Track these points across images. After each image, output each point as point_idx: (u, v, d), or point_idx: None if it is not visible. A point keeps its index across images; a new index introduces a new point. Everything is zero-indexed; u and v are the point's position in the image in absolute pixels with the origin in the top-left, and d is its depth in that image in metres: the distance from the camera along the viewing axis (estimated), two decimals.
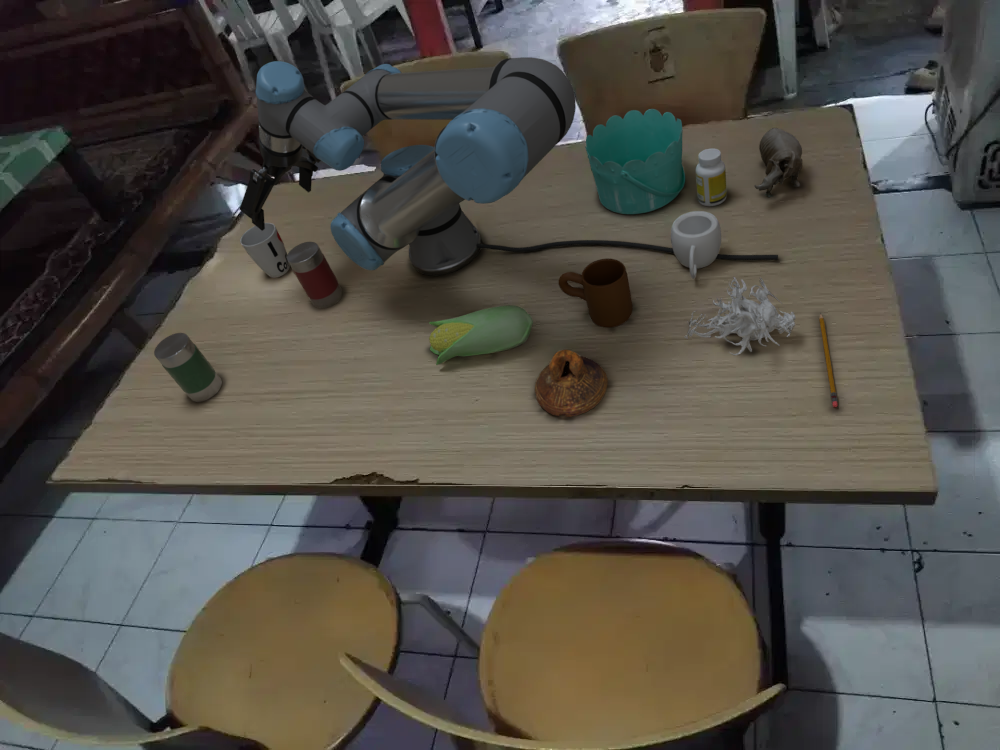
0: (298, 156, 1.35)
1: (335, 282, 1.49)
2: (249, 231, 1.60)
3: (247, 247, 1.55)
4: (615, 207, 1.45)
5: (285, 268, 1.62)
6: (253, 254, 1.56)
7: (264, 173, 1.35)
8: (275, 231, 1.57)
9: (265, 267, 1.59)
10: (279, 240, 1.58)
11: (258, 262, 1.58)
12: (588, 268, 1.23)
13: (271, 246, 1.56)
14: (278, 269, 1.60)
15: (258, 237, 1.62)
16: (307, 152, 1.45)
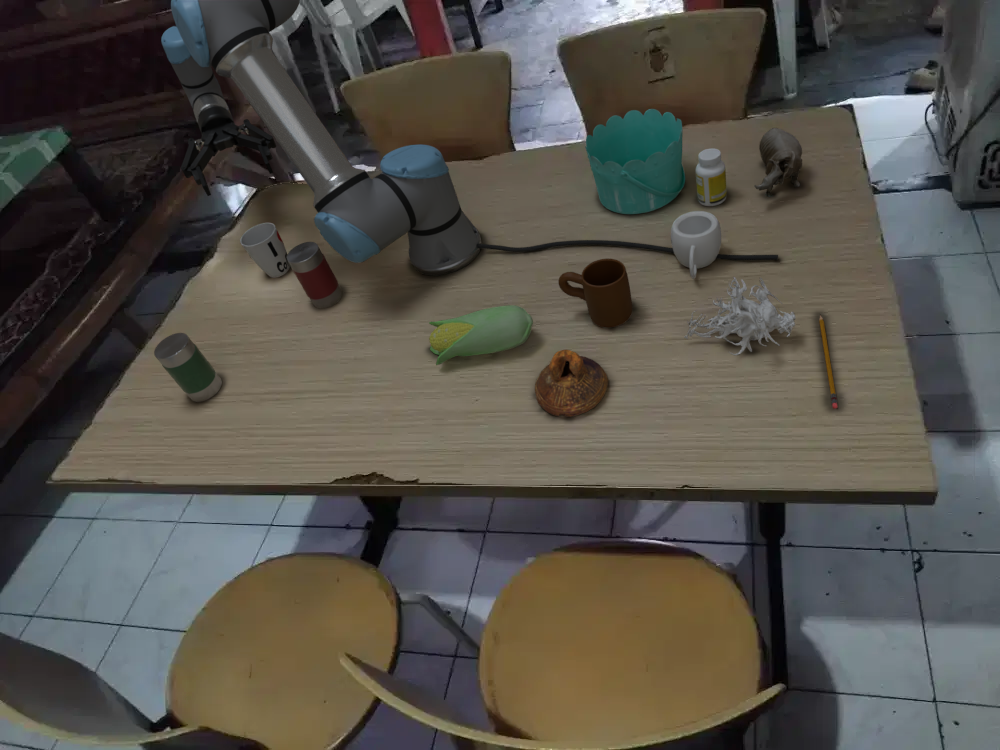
0: (212, 111, 1.60)
1: (335, 282, 1.49)
2: (249, 231, 1.60)
3: (247, 247, 1.55)
4: (615, 207, 1.45)
5: (285, 268, 1.62)
6: (254, 254, 1.56)
7: (198, 140, 1.60)
8: (275, 231, 1.57)
9: (265, 267, 1.59)
10: (279, 240, 1.58)
11: (258, 262, 1.58)
12: (588, 268, 1.23)
13: (271, 246, 1.56)
14: (278, 269, 1.60)
15: (258, 237, 1.62)
16: (257, 136, 1.61)
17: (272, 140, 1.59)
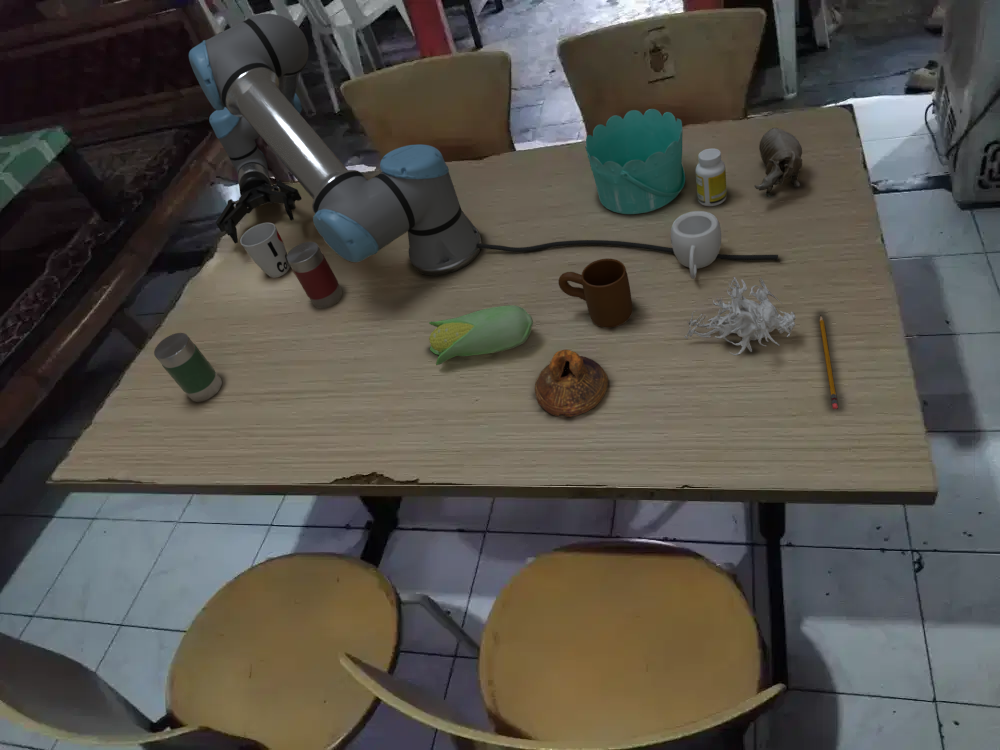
0: (250, 175, 1.76)
1: (335, 282, 1.49)
2: (249, 231, 1.60)
3: (247, 247, 1.55)
4: (615, 207, 1.45)
5: (285, 268, 1.62)
6: (254, 254, 1.56)
7: (236, 201, 1.76)
8: (275, 231, 1.57)
9: (265, 267, 1.59)
10: (279, 240, 1.58)
11: (258, 262, 1.58)
12: (588, 268, 1.23)
13: (271, 246, 1.56)
14: (278, 269, 1.60)
15: (259, 237, 1.62)
16: (286, 192, 1.74)
17: (296, 193, 1.71)
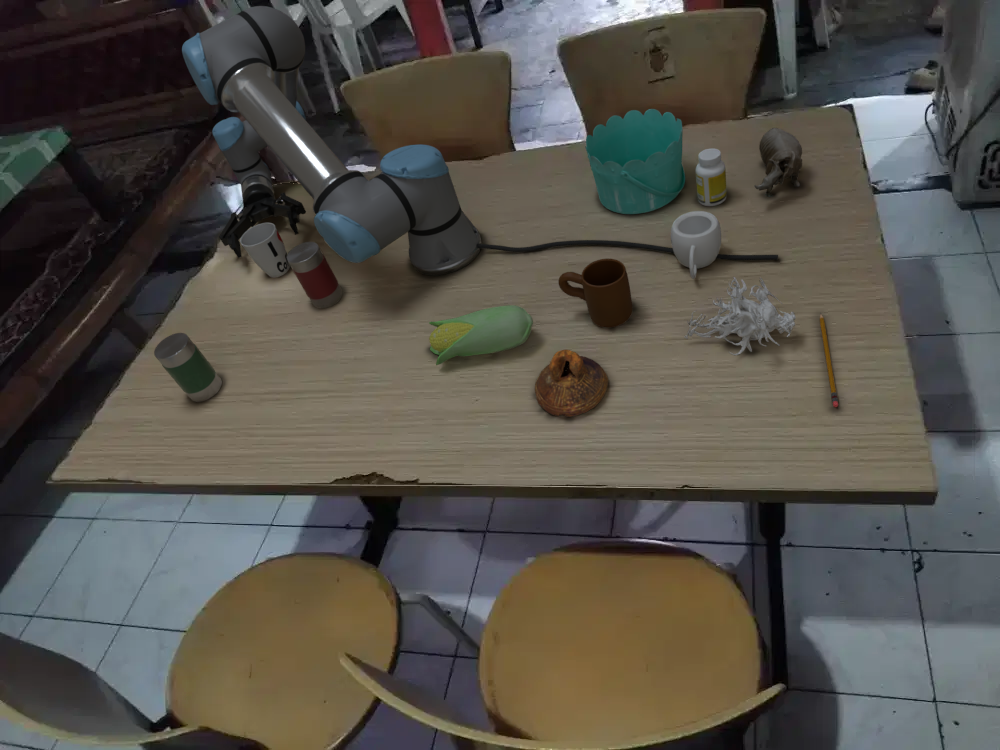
0: (253, 187, 1.74)
1: (335, 282, 1.49)
2: (249, 231, 1.60)
3: (247, 247, 1.55)
4: (615, 207, 1.45)
5: (285, 268, 1.62)
6: (254, 254, 1.56)
7: (240, 214, 1.73)
8: (275, 231, 1.57)
9: (265, 267, 1.59)
10: (279, 240, 1.58)
11: (258, 262, 1.58)
12: (588, 268, 1.23)
13: (271, 246, 1.56)
14: (278, 269, 1.60)
15: (259, 237, 1.62)
16: (290, 205, 1.71)
17: (301, 206, 1.68)
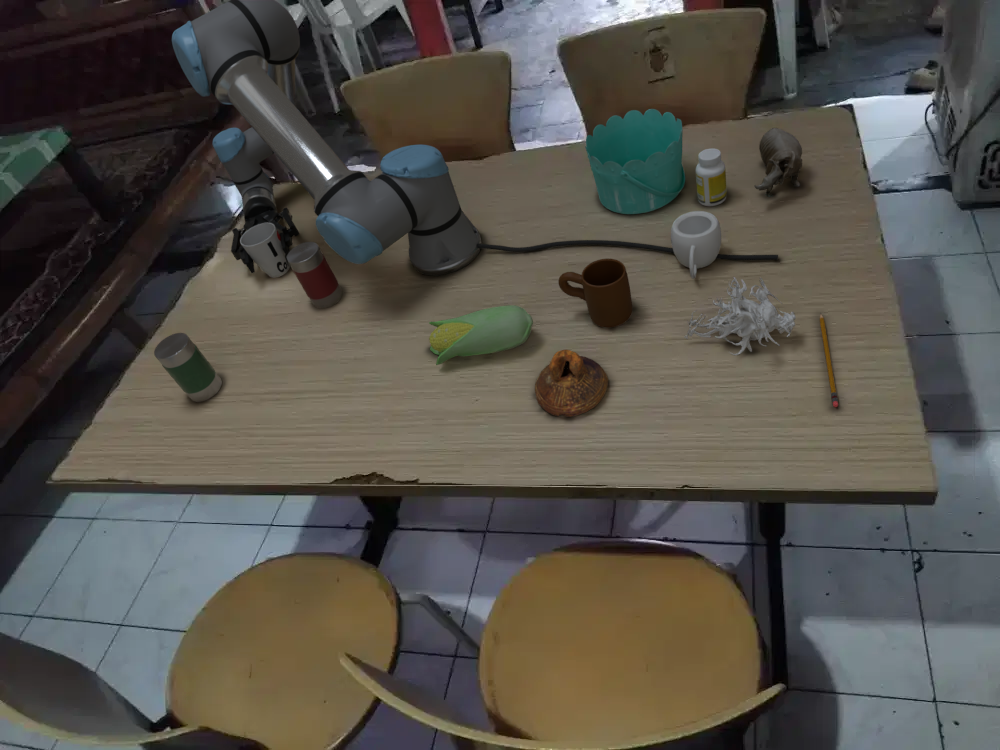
0: (255, 200, 1.69)
1: (335, 282, 1.49)
2: (249, 231, 1.60)
3: (247, 247, 1.55)
4: (615, 207, 1.45)
5: (285, 268, 1.62)
6: (253, 254, 1.56)
7: (241, 229, 1.68)
8: (275, 231, 1.57)
9: (265, 267, 1.59)
10: (279, 240, 1.58)
11: (258, 262, 1.58)
12: (588, 268, 1.23)
13: (271, 246, 1.56)
14: (278, 269, 1.60)
15: (258, 237, 1.62)
16: None
17: (294, 228, 1.62)
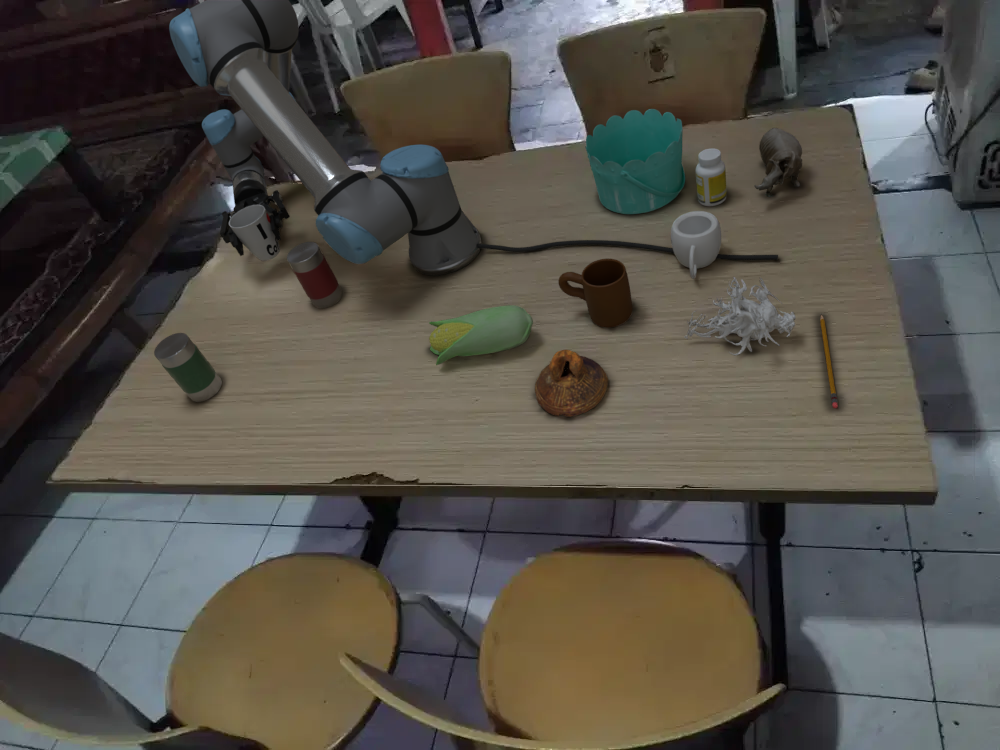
0: (245, 183, 1.65)
1: (335, 282, 1.49)
2: (238, 214, 1.56)
3: (236, 229, 1.52)
4: (615, 207, 1.45)
5: (275, 251, 1.59)
6: (242, 236, 1.53)
7: (231, 212, 1.65)
8: (264, 213, 1.53)
9: (254, 250, 1.56)
10: (269, 222, 1.55)
11: (247, 245, 1.55)
12: (588, 268, 1.23)
13: (260, 228, 1.53)
14: (268, 252, 1.57)
15: (248, 219, 1.58)
16: None
17: (284, 210, 1.58)
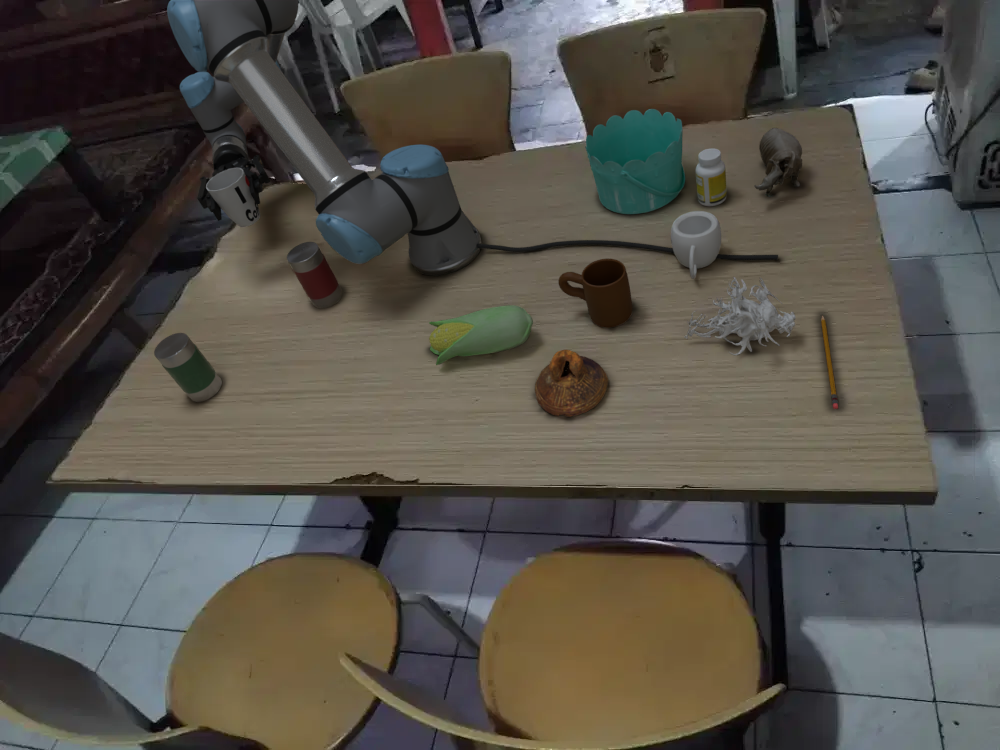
0: (224, 148, 1.59)
1: (335, 282, 1.49)
2: (216, 177, 1.50)
3: (213, 192, 1.46)
4: (615, 207, 1.45)
5: (255, 217, 1.52)
6: (220, 200, 1.47)
7: (209, 178, 1.58)
8: (243, 176, 1.47)
9: (233, 215, 1.50)
10: (248, 186, 1.48)
11: (225, 209, 1.49)
12: (588, 268, 1.23)
13: (238, 191, 1.47)
14: (247, 217, 1.51)
15: (227, 184, 1.52)
16: (258, 171, 1.56)
17: (264, 174, 1.52)
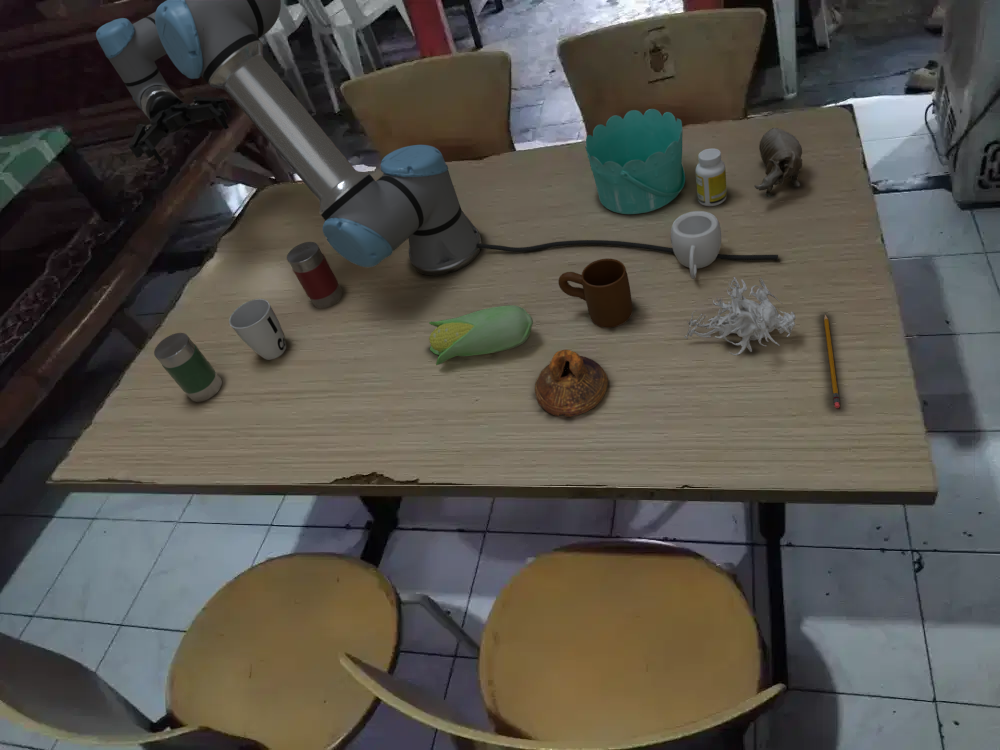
0: (159, 94, 1.47)
1: (335, 282, 1.49)
2: (234, 314, 1.39)
3: (245, 329, 1.35)
4: (615, 207, 1.45)
5: (284, 345, 1.43)
6: (253, 335, 1.36)
7: (147, 126, 1.46)
8: (269, 305, 1.38)
9: (265, 348, 1.39)
10: (274, 314, 1.39)
11: (257, 344, 1.38)
12: (588, 268, 1.23)
13: (270, 321, 1.37)
14: (279, 346, 1.41)
15: (244, 319, 1.41)
16: None
17: (224, 101, 1.43)
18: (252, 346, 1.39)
